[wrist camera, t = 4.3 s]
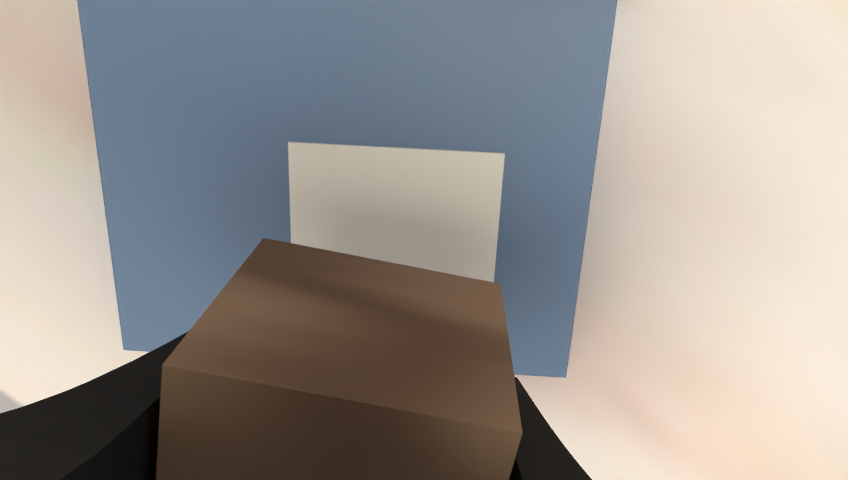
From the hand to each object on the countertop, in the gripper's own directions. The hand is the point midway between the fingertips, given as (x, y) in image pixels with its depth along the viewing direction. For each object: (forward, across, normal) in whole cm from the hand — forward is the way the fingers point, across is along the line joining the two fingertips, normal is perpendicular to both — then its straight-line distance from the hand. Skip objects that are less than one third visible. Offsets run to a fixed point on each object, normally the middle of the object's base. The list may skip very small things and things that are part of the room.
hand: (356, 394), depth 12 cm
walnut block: (+1, 0, 0) cm, 1 cm away
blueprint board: (+8, +2, -5) cm, 10 cm away
